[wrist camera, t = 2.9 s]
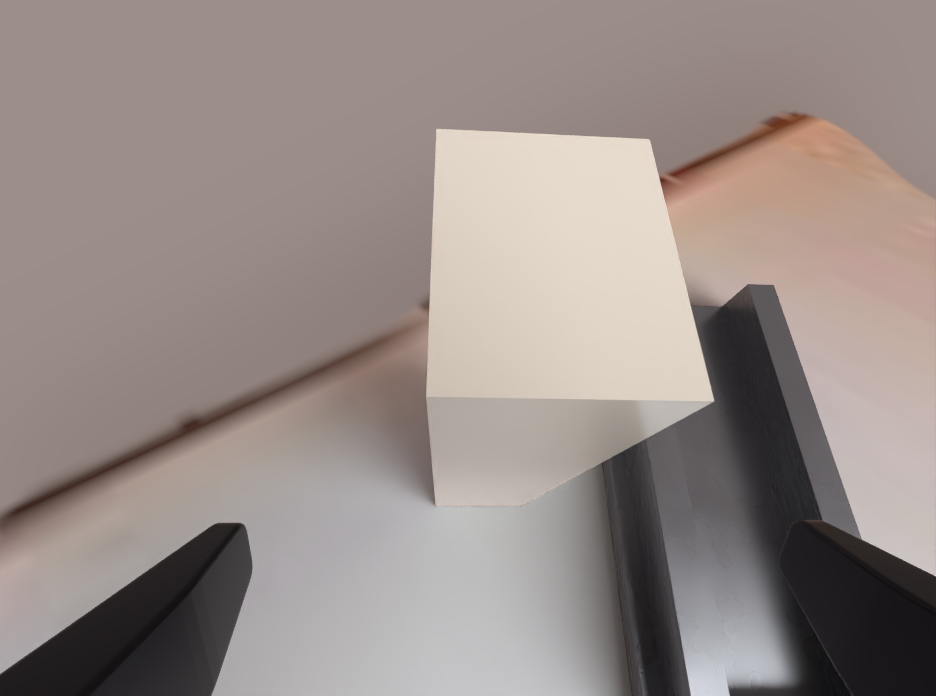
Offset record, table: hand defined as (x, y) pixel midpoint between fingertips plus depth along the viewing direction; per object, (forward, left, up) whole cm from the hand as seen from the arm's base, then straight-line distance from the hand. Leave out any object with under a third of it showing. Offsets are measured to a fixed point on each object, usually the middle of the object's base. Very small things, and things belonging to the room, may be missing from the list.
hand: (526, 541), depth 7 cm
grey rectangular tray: (+8, -7, -11) cm, 15 cm away
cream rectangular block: (+3, +2, -11) cm, 12 cm away
